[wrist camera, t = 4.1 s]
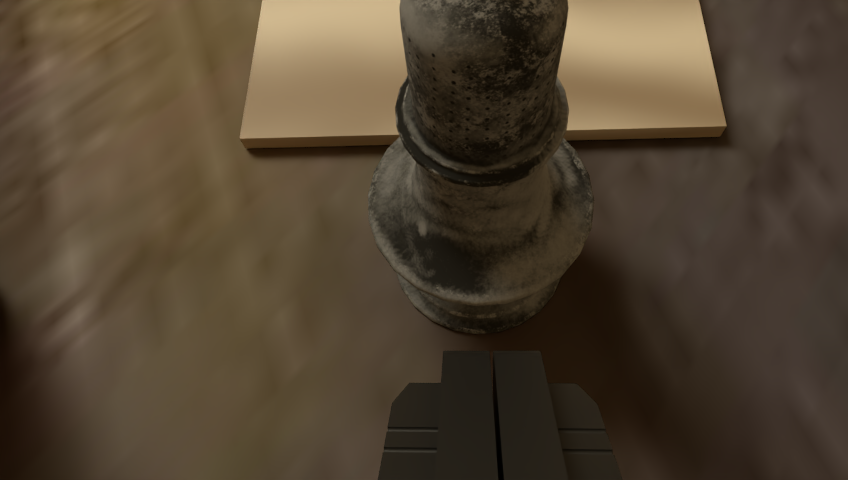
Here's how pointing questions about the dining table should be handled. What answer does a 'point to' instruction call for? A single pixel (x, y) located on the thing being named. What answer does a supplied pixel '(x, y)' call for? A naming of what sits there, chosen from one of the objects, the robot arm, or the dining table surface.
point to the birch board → (386, 71)
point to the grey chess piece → (481, 164)
